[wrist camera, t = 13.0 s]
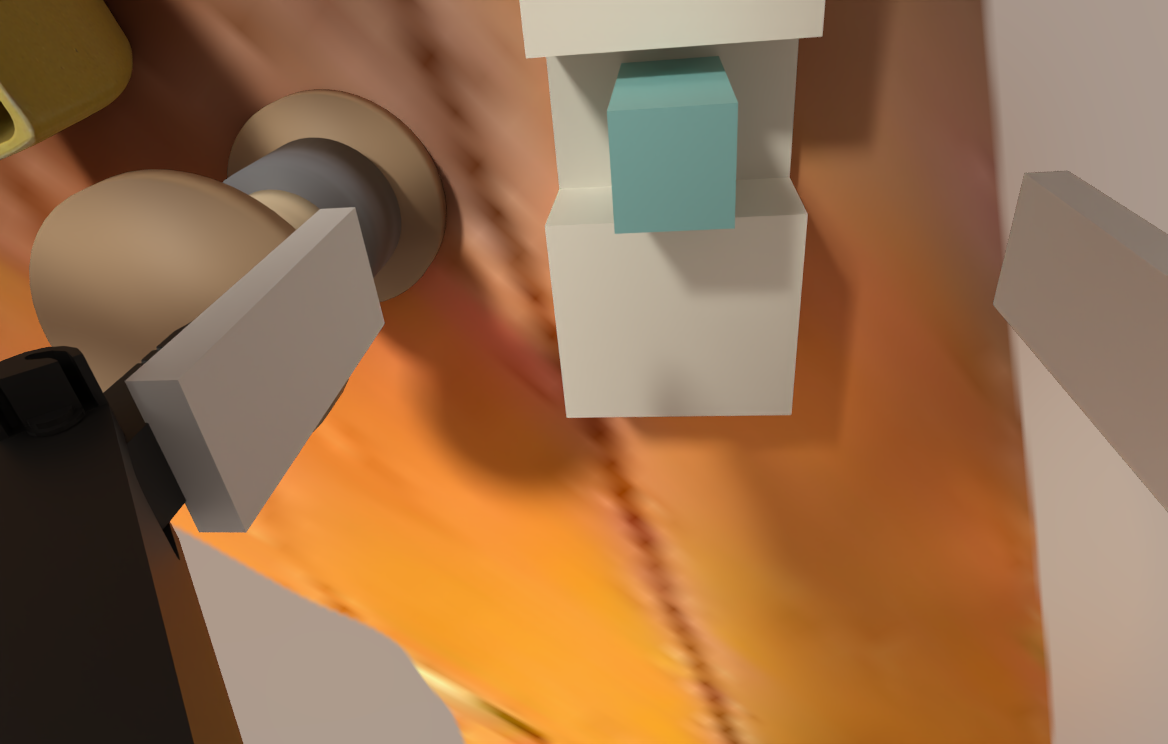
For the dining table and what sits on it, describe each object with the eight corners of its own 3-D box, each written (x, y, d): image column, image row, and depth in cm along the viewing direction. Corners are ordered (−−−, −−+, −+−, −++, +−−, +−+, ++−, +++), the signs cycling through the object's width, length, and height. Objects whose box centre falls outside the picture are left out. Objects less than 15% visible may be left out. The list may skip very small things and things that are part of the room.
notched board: (519, -251, 23) (486, -290, 19) (816, -288, 22) (852, -339, 17) (578, 356, 34) (566, 417, 30) (775, 351, 33) (791, 414, 29)
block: (621, 62, 27) (606, 111, 20) (718, 55, 26) (737, 102, 19) (626, 159, 28) (614, 234, 22) (717, 154, 28) (734, 228, 21)
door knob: (208, 97, 29) (-32, 189, 19) (424, 81, 28) (289, 171, 18) (275, 298, 34) (110, 458, 24) (462, 292, 33) (373, 456, 23)
